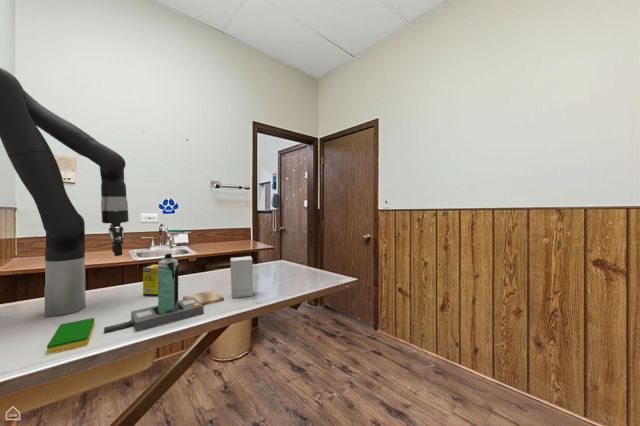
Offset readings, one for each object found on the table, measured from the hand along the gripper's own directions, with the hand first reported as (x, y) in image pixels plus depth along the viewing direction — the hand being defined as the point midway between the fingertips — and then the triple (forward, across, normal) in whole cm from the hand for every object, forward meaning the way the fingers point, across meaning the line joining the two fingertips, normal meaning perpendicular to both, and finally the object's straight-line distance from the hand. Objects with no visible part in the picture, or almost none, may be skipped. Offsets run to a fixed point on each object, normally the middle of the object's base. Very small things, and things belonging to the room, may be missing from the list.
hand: (117, 253), depth 92 cm
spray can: (+18, +27, +10) cm, 34 cm away
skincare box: (+19, +24, +36) cm, 47 cm away
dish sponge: (+18, +25, -12) cm, 33 cm away
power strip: (+17, +27, +7) cm, 33 cm away
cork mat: (+18, +20, +23) cm, 35 cm away
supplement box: (+18, 0, +11) cm, 21 cm away
